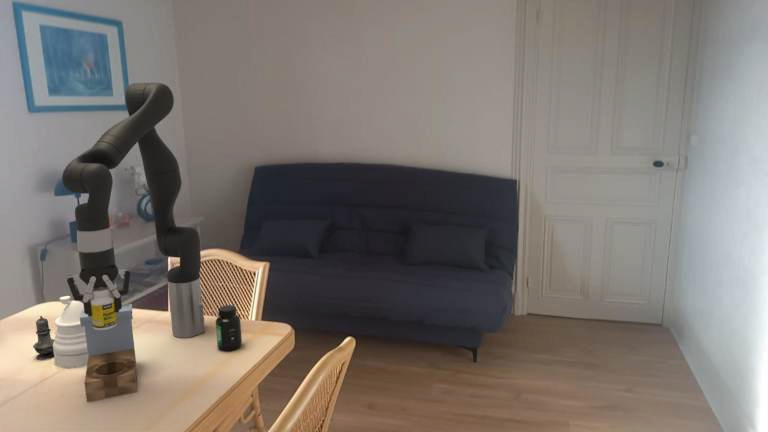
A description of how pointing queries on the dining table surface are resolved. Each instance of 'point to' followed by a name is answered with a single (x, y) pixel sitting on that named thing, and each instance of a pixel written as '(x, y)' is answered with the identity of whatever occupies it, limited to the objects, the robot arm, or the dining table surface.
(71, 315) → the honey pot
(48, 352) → the dark grey chess piece
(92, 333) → the wall
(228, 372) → the dining table surface
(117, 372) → the socket
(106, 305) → the supplement bottle
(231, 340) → the supplement bottle
